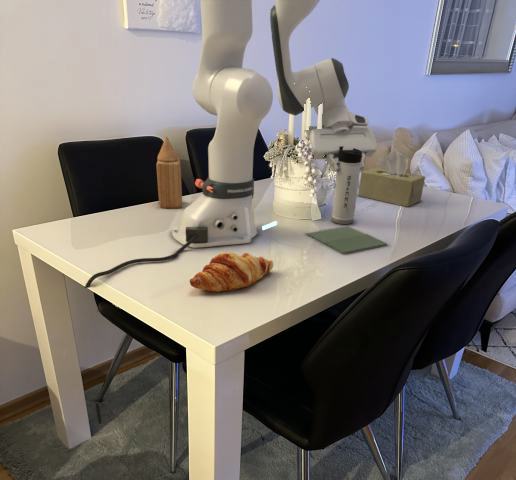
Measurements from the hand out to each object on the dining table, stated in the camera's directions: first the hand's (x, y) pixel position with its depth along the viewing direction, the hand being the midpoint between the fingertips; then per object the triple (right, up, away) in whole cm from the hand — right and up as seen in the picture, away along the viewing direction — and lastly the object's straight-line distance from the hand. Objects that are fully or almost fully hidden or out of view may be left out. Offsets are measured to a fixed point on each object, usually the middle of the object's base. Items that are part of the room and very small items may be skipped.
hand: (349, 169), depth 138 cm
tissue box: (+19, +1, +31) cm, 36 cm away
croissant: (-30, -35, -30) cm, 55 cm away
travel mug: (-1, -12, +8) cm, 15 cm away
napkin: (-2, -20, -5) cm, 21 cm away
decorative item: (-52, -5, +17) cm, 55 cm away
